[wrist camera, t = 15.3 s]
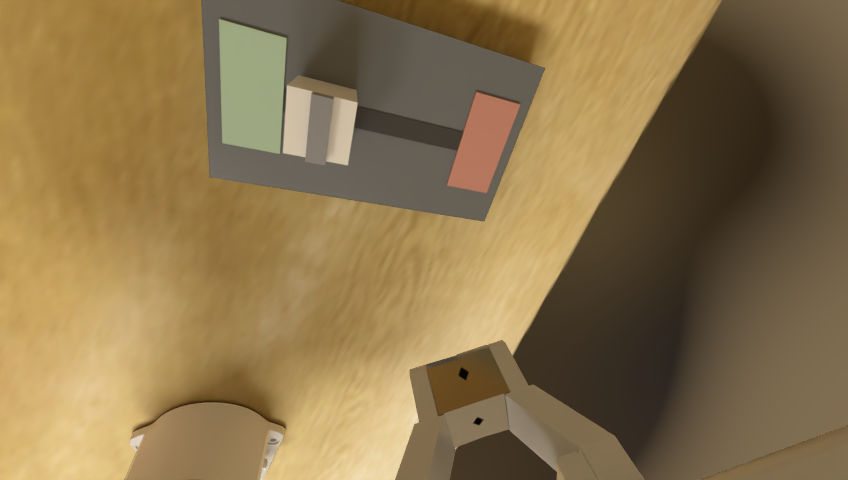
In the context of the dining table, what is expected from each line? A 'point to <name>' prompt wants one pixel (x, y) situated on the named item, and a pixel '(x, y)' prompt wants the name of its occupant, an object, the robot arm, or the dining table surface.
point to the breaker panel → (363, 104)
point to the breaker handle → (319, 120)
